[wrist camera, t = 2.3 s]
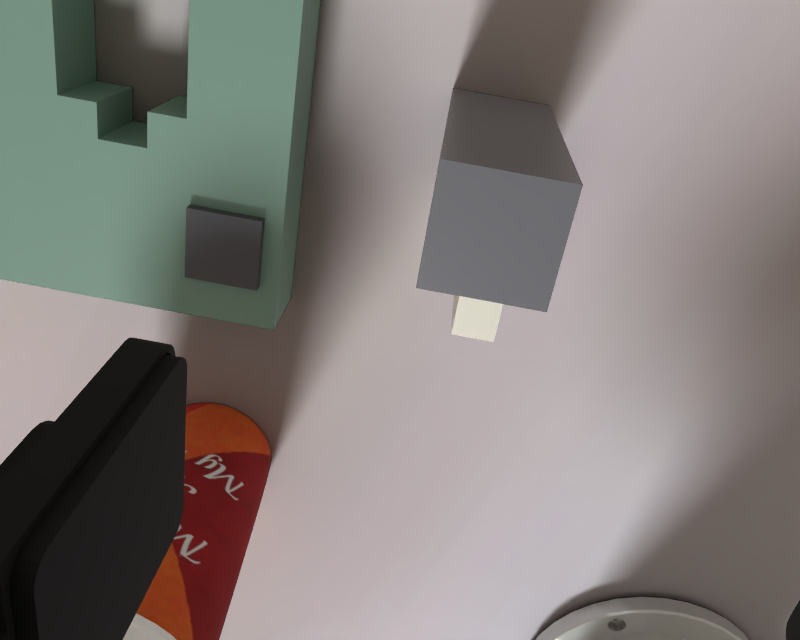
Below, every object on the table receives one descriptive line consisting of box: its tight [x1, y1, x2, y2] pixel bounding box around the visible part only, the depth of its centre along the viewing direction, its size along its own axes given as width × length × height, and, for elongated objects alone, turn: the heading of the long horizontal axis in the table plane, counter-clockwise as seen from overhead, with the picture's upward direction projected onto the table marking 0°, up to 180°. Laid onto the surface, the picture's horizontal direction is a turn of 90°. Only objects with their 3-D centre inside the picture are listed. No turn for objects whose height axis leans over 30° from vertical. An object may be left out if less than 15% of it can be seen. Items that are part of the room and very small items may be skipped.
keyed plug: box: [416, 88, 583, 342], centre depth 24 cm, size 4×5×10 cm
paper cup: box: [123, 403, 271, 640], centre depth 30 cm, size 8×8×14 cm
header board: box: [0, 0, 321, 330], centre depth 27 cm, size 12×16×3 cm
